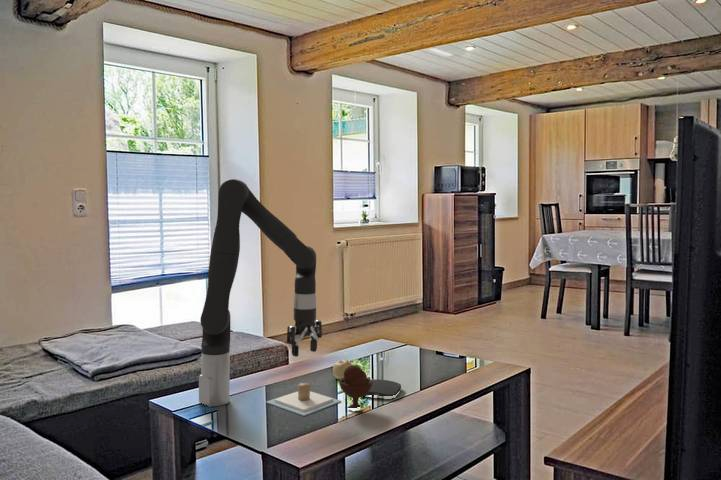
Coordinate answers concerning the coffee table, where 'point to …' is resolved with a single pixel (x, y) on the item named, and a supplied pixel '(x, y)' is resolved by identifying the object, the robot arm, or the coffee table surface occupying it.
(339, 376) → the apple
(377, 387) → the media streaming box
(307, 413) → the rubber mat
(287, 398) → the cover sheet
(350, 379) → the ice cream bowl
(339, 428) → the coffee table surface
